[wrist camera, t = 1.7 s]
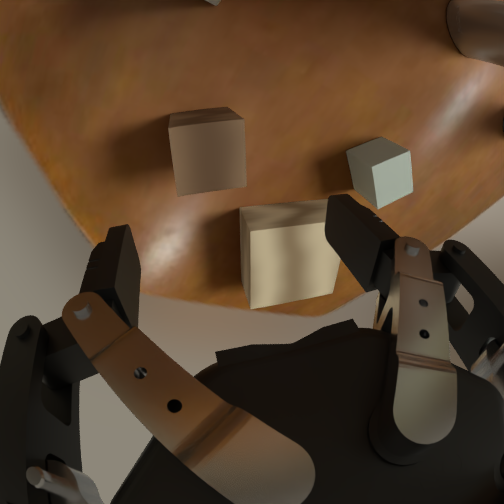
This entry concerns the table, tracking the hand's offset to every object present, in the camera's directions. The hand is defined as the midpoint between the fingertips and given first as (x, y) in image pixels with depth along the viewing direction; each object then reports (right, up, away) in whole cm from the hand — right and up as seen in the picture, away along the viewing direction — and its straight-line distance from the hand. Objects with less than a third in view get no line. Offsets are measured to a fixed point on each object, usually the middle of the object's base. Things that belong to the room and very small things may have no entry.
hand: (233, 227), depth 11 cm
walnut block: (-4, +9, +13) cm, 17 cm away
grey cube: (+14, +9, +19) cm, 25 cm away
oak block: (+4, 0, +22) cm, 23 cm away
